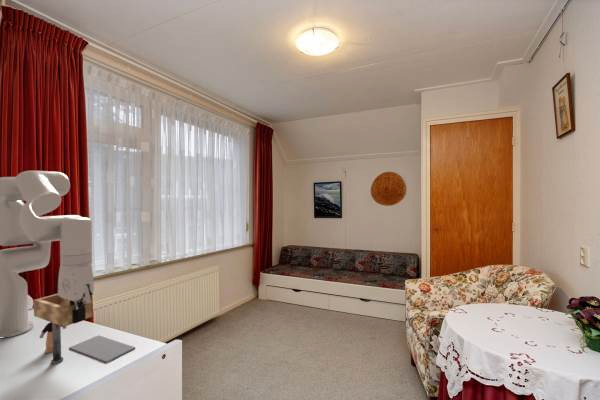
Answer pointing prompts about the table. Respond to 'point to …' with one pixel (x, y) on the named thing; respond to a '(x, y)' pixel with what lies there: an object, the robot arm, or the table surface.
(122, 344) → the rubber mat
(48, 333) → the grandmother figurine
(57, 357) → the post stand
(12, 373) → the table surface
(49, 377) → the table surface
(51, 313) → the open wooden frame
